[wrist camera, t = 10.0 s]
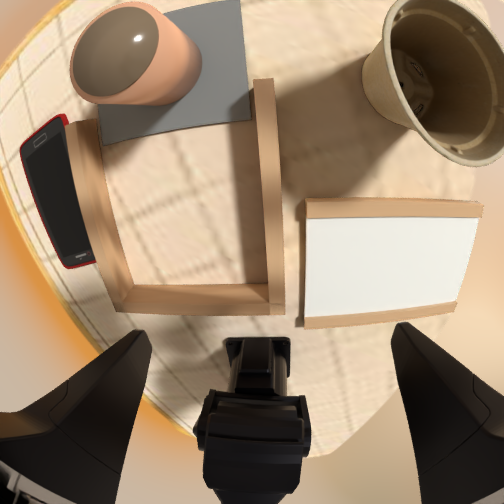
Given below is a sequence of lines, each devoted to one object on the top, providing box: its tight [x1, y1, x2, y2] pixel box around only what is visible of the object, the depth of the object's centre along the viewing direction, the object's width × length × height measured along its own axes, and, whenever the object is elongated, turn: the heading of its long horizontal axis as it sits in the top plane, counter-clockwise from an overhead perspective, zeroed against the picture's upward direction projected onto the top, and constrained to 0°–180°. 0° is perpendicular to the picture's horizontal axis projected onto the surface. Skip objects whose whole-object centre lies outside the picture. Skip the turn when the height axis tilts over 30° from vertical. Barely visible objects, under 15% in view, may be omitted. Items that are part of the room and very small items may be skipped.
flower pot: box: [362, 0, 504, 167], centre depth 11 cm, size 9×9×9 cm
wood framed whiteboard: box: [304, 197, 484, 329], centre depth 21 cm, size 17×12×1 cm
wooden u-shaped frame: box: [65, 78, 285, 316], centre depth 19 cm, size 17×15×3 cm
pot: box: [70, 2, 202, 106], centre depth 12 cm, size 6×6×7 cm
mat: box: [98, 0, 251, 146], centre depth 15 cm, size 10×12×1 cm
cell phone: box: [20, 114, 96, 269], centre depth 20 cm, size 8×15×1 cm, turn 15°
